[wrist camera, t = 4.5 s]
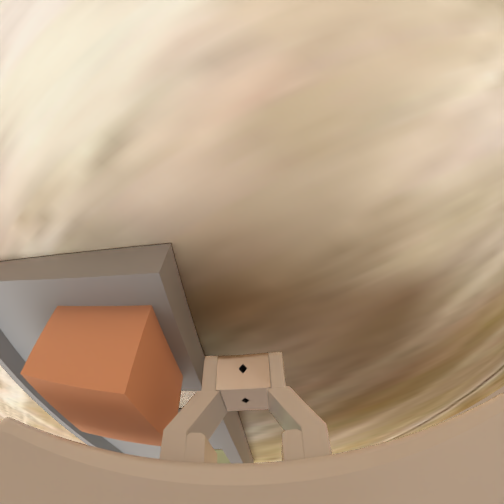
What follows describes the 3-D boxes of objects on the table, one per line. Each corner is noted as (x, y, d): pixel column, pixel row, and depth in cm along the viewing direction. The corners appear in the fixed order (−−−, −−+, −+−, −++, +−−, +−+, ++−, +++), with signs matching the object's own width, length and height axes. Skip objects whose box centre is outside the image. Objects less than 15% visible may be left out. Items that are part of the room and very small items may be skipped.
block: (151, 305, 10) (124, 393, 7) (183, 376, 13) (173, 447, 10) (57, 305, 11) (20, 373, 7) (100, 371, 13) (81, 431, 10)
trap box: (194, 241, 11) (178, 300, 8) (253, 460, 28) (254, 485, 25) (-19, 263, 12) (-48, 298, 9) (140, 454, 28) (137, 476, 25)
